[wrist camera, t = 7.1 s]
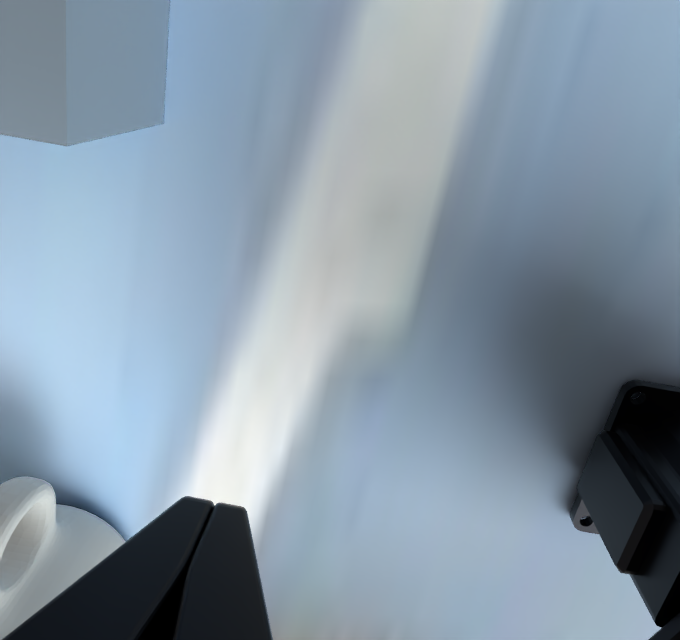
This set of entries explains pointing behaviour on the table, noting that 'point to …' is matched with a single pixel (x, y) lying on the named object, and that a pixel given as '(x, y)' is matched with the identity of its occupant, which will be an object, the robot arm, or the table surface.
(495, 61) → the table surface
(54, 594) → the cup
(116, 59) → the block
